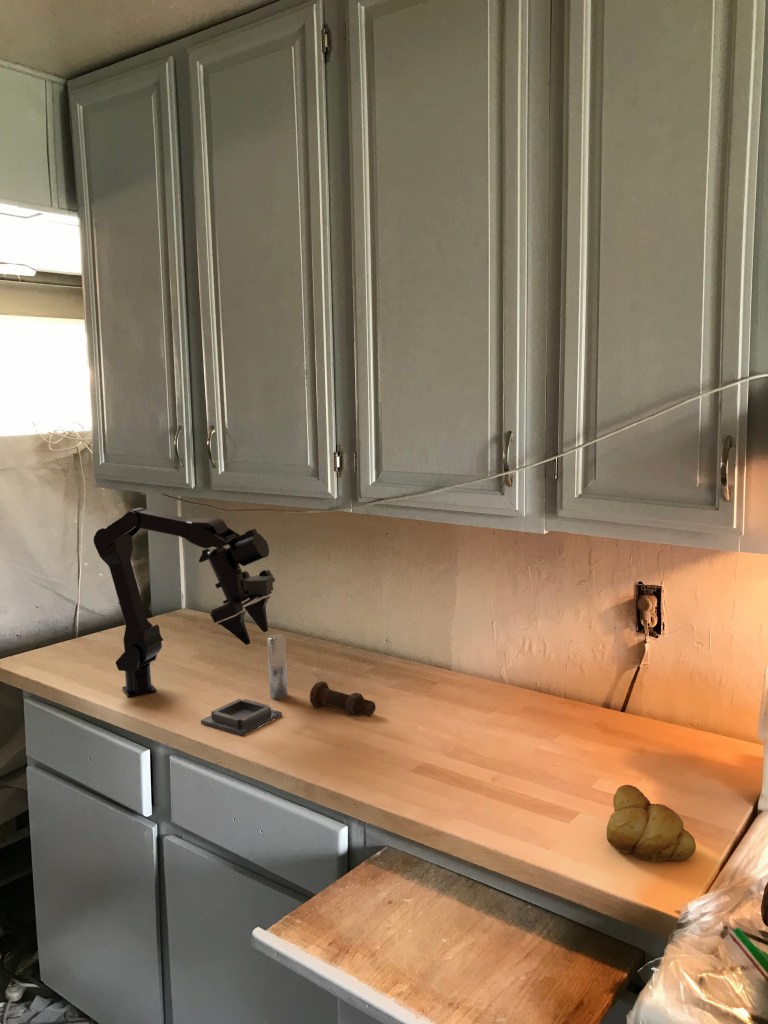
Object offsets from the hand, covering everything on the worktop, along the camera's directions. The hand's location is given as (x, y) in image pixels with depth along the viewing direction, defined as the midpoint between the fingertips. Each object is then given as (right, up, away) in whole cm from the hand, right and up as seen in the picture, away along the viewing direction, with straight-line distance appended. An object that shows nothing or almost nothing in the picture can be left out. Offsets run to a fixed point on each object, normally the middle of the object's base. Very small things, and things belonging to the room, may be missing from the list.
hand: (257, 637), depth 184 cm
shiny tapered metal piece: (+4, -14, +5) cm, 16 cm away
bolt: (+19, -16, -4) cm, 25 cm away
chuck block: (-2, -16, -8) cm, 18 cm away
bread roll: (+67, -23, -60) cm, 93 cm away
